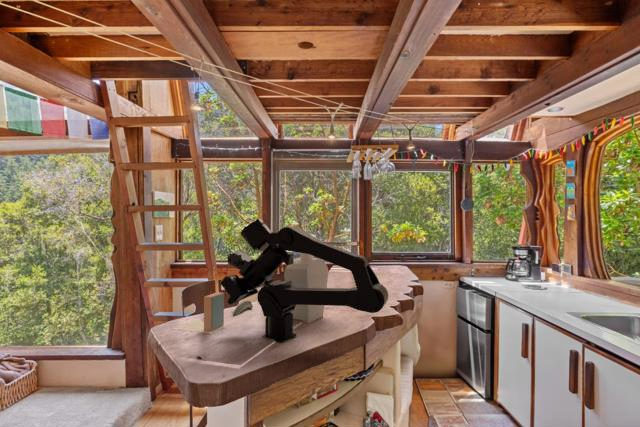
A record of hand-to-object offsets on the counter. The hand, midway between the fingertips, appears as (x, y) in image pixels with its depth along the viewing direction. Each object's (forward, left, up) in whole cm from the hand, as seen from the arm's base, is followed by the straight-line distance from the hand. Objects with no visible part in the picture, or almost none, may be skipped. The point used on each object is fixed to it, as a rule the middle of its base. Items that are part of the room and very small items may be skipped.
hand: (229, 303), depth 100 cm
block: (+5, +1, -7) cm, 8 cm away
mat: (+8, +2, -8) cm, 12 cm away
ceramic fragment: (+12, -16, -8) cm, 22 cm away
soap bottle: (-8, -23, -8) cm, 26 cm away
